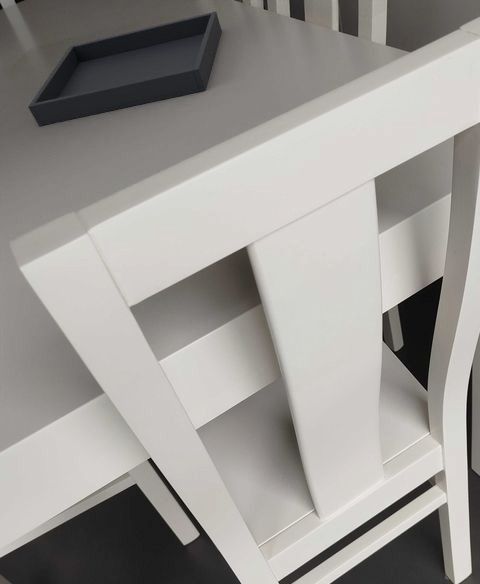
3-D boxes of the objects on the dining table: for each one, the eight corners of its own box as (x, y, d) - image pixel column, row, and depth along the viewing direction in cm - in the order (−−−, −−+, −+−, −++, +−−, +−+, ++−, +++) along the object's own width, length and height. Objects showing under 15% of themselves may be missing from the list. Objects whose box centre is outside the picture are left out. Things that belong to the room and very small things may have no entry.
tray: (38, 126, 86) (27, 106, 84) (78, 64, 101) (69, 46, 98) (205, 90, 82) (198, 68, 79) (221, 30, 96) (216, 11, 94)
